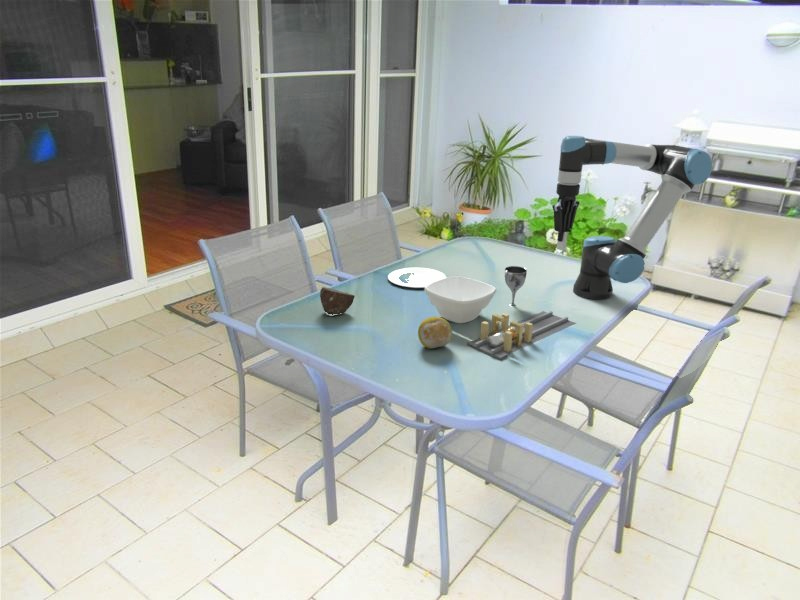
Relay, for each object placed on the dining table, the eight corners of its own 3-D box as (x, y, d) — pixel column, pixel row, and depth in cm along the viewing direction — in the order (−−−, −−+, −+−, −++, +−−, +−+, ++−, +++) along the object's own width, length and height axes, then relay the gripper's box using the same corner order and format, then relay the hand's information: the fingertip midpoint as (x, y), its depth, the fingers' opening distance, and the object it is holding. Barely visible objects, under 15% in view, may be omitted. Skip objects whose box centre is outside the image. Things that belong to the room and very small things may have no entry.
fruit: (412, 343, 197) (413, 315, 193) (441, 338, 201) (443, 310, 197) (426, 356, 188) (426, 327, 184) (456, 350, 192) (457, 322, 188)
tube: (520, 328, 205) (524, 319, 202) (528, 335, 203) (533, 326, 200) (485, 343, 194) (489, 334, 191) (493, 351, 192) (498, 342, 189)
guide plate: (543, 313, 221) (544, 295, 219) (575, 325, 211) (578, 306, 209) (467, 344, 196) (468, 325, 193) (500, 360, 186) (502, 339, 184)
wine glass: (523, 311, 222) (526, 273, 216) (501, 310, 223) (504, 272, 218) (523, 304, 229) (526, 266, 224) (502, 302, 231) (505, 265, 225)
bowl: (455, 301, 231) (457, 273, 227) (502, 318, 216) (504, 288, 212) (415, 317, 217) (416, 287, 212) (462, 336, 202) (464, 304, 198)
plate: (457, 277, 257) (457, 273, 257) (427, 295, 238) (428, 291, 237) (407, 267, 270) (407, 263, 269) (376, 283, 250) (376, 279, 249)
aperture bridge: (493, 333, 202) (495, 313, 199) (521, 345, 194) (523, 324, 191) (490, 335, 201) (492, 315, 198) (518, 347, 193) (520, 326, 190)
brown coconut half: (355, 296, 222) (354, 290, 212) (347, 322, 220) (346, 317, 210) (323, 287, 222) (320, 281, 212) (315, 313, 220) (312, 308, 210)
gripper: (570, 179, 210) (562, 243, 219) (548, 183, 203) (541, 250, 211) (589, 182, 205) (580, 248, 214) (567, 187, 197) (559, 255, 206)
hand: (561, 249), depth 213 cm, fingers closed
